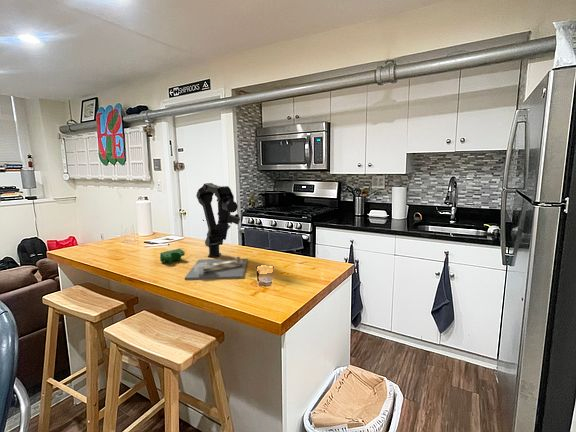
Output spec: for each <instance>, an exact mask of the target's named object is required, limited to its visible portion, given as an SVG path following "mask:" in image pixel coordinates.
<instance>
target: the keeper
mask: <svg viewBox="0 0 576 432" xmlns="http://www.w3.org/2000/svg"><path fill="white" fill-rule="evenodd" d="M195 264H196V263H195ZM195 264H193V266H194V274H195V275H197V276H198V277H199V276H204V271H203V269H207V268H212V267H214V264H212V263H210V262H208V261H207V262H202V263H198V264H196V265H195Z"/></svg>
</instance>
